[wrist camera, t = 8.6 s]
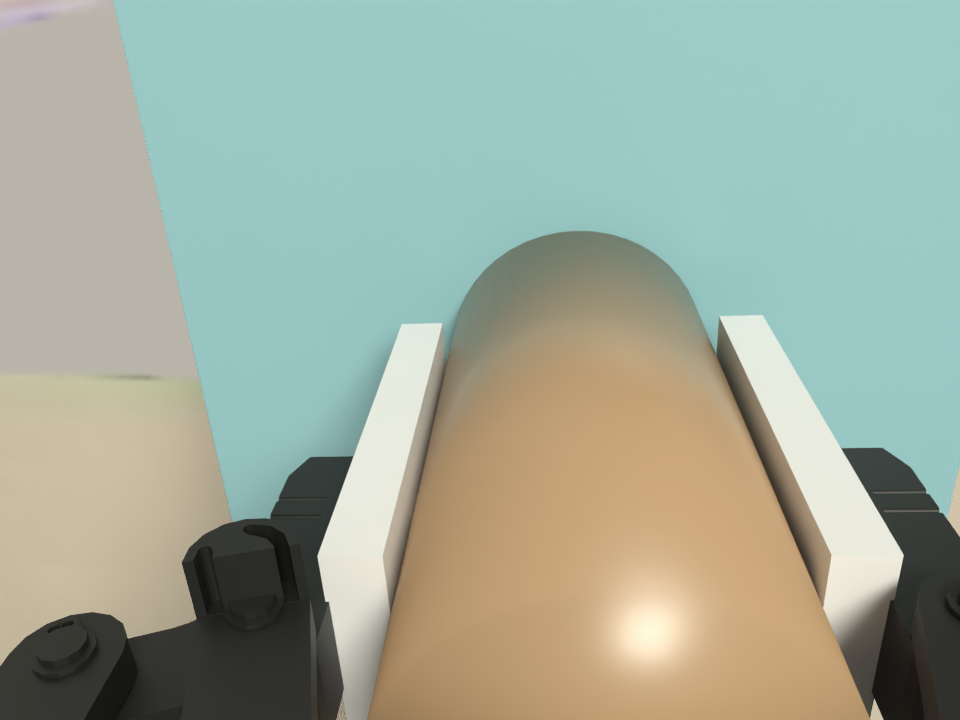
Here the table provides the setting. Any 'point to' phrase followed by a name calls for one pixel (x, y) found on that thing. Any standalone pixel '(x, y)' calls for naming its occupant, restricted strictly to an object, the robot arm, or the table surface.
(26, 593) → the table surface
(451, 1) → the cover board
